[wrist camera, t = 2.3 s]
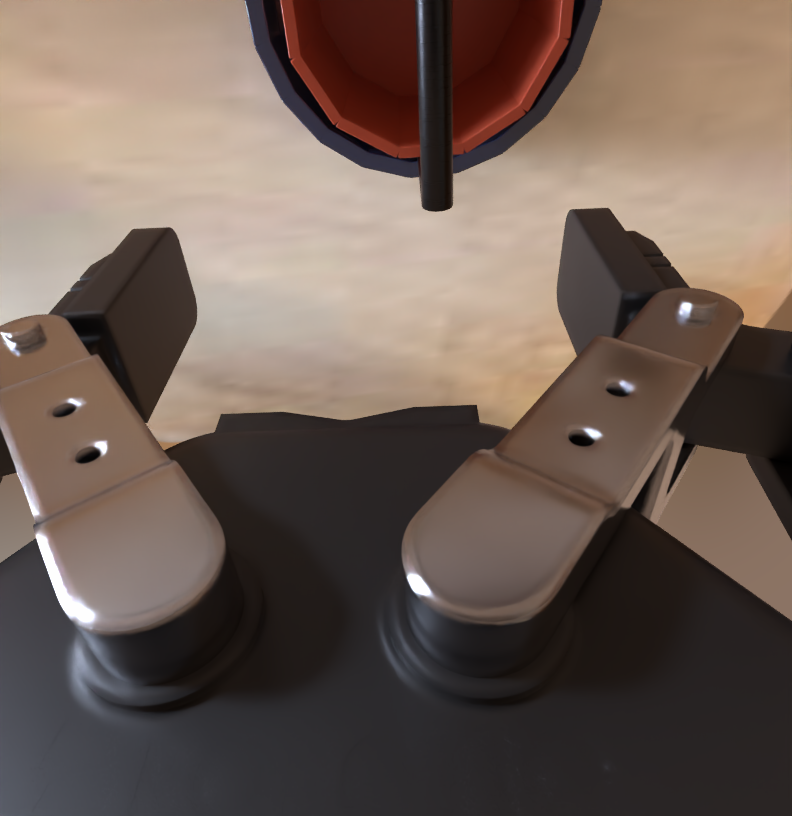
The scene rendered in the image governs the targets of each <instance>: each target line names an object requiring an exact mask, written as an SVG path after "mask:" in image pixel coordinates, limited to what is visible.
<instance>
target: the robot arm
mask: <svg viewBox="0 0 792 816" xmlns="http://www.w3.org/2000/svg"><path fill="white" fill-rule="evenodd" d="M557 303H558V309H559V312H560V315H561V317H562V320H563V322H564V325H565V327H566V330H567V332H568V334H569V337H570V339H571V342H572V344H573V347H574V349H575V352H576V354H577V357H576V358H575V360H574V361H573V362H572V363H571V364H570V365H569V366H568V367H567V368H566V369H565V371H564V372H563V373H562V374H561V375H560V376H559V377H558V378H557V379H556V381H555V382H554V383H553V384H552V385H551V386H550V387H549V388H548V389H547V391H546V392H545V393H544V394H543V395H542V396H541V397H540V398H539V399H538V401H537V402H536V403H535V404H534V405H533V406H532V407H531V408H530V409H529V410H528V412H527V413H526V414H525V415H524V416H523V417H522V418H521V419H520V420H519V422H518V423H517V424H516V425H515V426H514V427H513V428H512V429H511V430H510V429H507V428H504V427H499V426H495V425H491V424H485V423H480V422H479V416H478V410H477V405H461V406H433V407H412V408H407V409H402V410H397V411H393V412H388V413H383V414H378V415H373V416H368V417H363V418H359V419H354V420H337V419H330V418H323V417H316V416H309V415H301V414H294V413H287V412H268V413H241V414H221V416H220V419H219V422H218V425H217V427H216V430H215V432H214V433H209V434H205V435H202V436H198V437H195V438H192V439H189V440H187V441H184V442H181V443H179V444H177V445H175V446H173V447H170V448H168V449H166V450H163V449H162V447H161V446H160V444H159V443H158V441H157V440H156V439H155V437H154V436H153V434H152V433H151V431H150V430H149V428H148V427H147V425H146V424H145V423H148V421H149V419H150V416H151V414H152V412H153V410H154V408H155V406H156V404H157V402H158V400H159V398H160V396H161V394H162V392H163V390H164V388H165V386H166V384H167V382H168V380H169V378H170V376H171V374H172V372H173V370H174V368H175V366H176V364H177V362H178V360H179V358H180V356H181V354H182V352H183V350H184V348H185V346H186V343H187V341H188V339H189V337H190V335H191V333H192V331H193V329H194V327H195V325H196V320H197V304H196V298H195V295H194V291H193V288H192V284H191V281H190V277H189V274H188V270H187V267H186V263H185V260H184V256H183V253H182V249H181V246H180V243H179V239H178V237H177V235H176V233H175V231H174V230H173V229H172V228H169V227H167V228H146V229H133V230H132V231H131V232H130V233H129V234H128V235H127V236H126V238H125V239H124V240H123V241H122V242H121V243H120V245H119V246H118V247H117V248H116V249H115V251H114V252H113V253H112V254H109V255H108V256H106V257H104V258H103V259H101V260H99V261H98V262H96V263H94V264H93V265H91V266H90V267H89V268H88V269H87V271H86V272H85V273H84V274H83V275H82V276H81V277H80V281H77V282H76V283H75V284H74V285H73V286H72V288H71V291H70V292H67V293H66V294H65V296H64V297H63V298H62V299H61V300H60V301H59V302H58V304H57V305H56V306H55V307H54V308H53V309H52V310H51V312H50V313H49V314H48V315H47V314H45V315H34V316H28V317H24V318H20V319H17V320H14V321H11V322H8V323H6V324H4V325H1V326H0V483H1V481H2V477H3V476H5V475H9V474H12V473H18V476H19V478H20V481H21V484H22V486H23V489H24V492H25V494H26V497H27V499H28V502H29V505H30V508H31V510H32V512H33V515H34V518H35V521H36V524H34V526H33V527H34V532H35V535H36V539H34V540H33V541H31V542H30V543H28V544H27V545H26V546H24V547H23V548H21V549H20V550H18V551H17V552H15V553H14V554H13V555H11V556H10V557H8V558H7V559H5V560H4V561H3V562H1V563H0V816H792V621H791V620H790V619H788V618H787V617H785V616H784V615H783V614H781V613H780V612H778V611H777V610H775V609H774V608H773V607H771V606H770V605H769V604H767V603H766V602H764V601H763V600H761V599H760V598H758V597H757V596H756V595H754V594H753V593H752V592H750V591H749V590H747V589H746V588H745V587H743V586H742V585H740V584H739V583H737V582H736V581H735V580H733V579H732V578H730V577H729V576H728V575H726V574H725V573H723V572H722V571H721V570H719V569H718V568H716V567H715V566H714V565H712V564H711V563H709V562H708V561H707V560H705V559H704V558H702V557H701V556H700V555H698V554H697V553H695V552H694V551H693V550H691V549H689V548H688V547H687V546H685V545H684V544H683V543H681V542H680V541H678V540H677V539H676V538H674V537H673V536H671V535H670V534H669V533H667V532H666V531H664V530H663V529H662V528H660V527H659V526H657V522H658V520H659V518H660V516H661V514H662V512H663V510H664V508H665V507H666V505H667V503H668V501H669V499H670V497H671V495H672V494H673V492H674V490H675V488H676V486H677V485H678V483H679V481H680V479H681V477H682V475H683V474H684V472H685V470H686V468H687V466H688V464H689V463H690V461H691V459H692V457H693V455H694V454H695V451H696V449H697V446H698V445H700V446H705V447H711V448H716V449H722V450H727V451H732V452H738V453H743V454H746V458H747V460H748V462H749V464H750V466H751V468H752V470H753V471H754V473H755V475H756V477H757V478H758V480H759V482H760V484H761V486H762V488H763V489H764V491H765V493H766V495H767V497H768V499H769V500H770V502H771V504H772V506H773V508H774V509H775V511H776V513H777V515H778V517H779V518H780V520H781V522H782V524H783V526H784V527H785V529H786V531H787V533H788V535H789V536H790V538H791V540H792V332H789V331H781V330H774V329H766V328H758V327H752V326H747V325H743V324H742V321H743V318H744V313H743V311H742V309H741V308H740V306H739V305H738V304H736V303H735V302H734V301H732V300H731V299H729V298H727V297H725V296H723V295H720V294H718V293H715V292H711V291H707V290H702V289H695V288H690V287H689V286H688V285H687V283H686V282H685V281H684V280H683V278H682V277H681V276H680V275H679V273H678V272H677V271H676V269H675V268H674V267H671V263H670V262H669V261H668V259H667V258H666V257H665V256H663V253H662V252H661V250H660V249H659V248H658V247H657V245H656V244H655V243H654V242H653V241H652V240H650V239H648V238H646V237H644V236H643V235H641V234H639V233H637V232H635V231H625V230H624V228H623V227H622V225H621V224H620V223H619V221H618V220H617V219H616V217H615V216H614V214H613V213H612V212H611V210H610V209H609V208H594V209H572V210H570V211H569V212H568V215H567V218H566V222H565V229H564V236H563V244H562V251H561V259H560V267H559V274H558V282H557Z"/></svg>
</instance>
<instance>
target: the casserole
mask: <svg viewBox="0 0 792 816" xmlns="http://www.w3.org/2000/svg"><path fill="white" fill-rule="evenodd" d="M245 4H246V9H247V14H248V18H249V23H250V28H251V32H252V37H253V42H254V45H255V46H256V47H255V49H256V51H257V53H258V55H259V57H260V59H261V61H262V63H263V65H264V66H265V68H266V70H267V72H268V74H269V76H270V78H271V80H272V82H273V84H274V86H275V88H276V90H277V92H278V94H279V96H280V98H281V100H283V103H284V104H285V105H286V106H287V107H288V108H289V109H290V110H291V111H292V112H293V113H294V115H295V116H296V117H297V118H298V119H299V120H300V121H301V122H302V123H303V124H304V125H305V127H306V128H307V129H308V130H309V131H310V132H311V133H312V134H313V135H314V136H315V137H316V138H317V140H319V141H320V142H321V143H322V144H324V145H326V146H327V147H329V148H331V149H332V150H334V151H336V152H338V153H339V154H341V155H343V156H344V157H346V158H348V159H349V160H351V161H353V162H354V163H356V164H358V165H360V166H361V167H364V168H368V169H373V170H377V171H382V172H386V173H390V174H395V175H399V176H404V177H408V178H409V177H410V178H414V177H419V172H418V162H417V157H414V158H399V157H398V156H397V157H393V156H391V155H389V154H387V153H385V152H384V151H382V150H380V149H378V148H376V147H374V146H372V145H370V144H368V143H366V142H364V141H362V140H360V139H358V138H356V137H354V136H352V135H350V134H348V133H347V132H345V131H343V130H341V129H339V128H337V127H336V125H337V123H336V124H335V125H334V124H333V123H332V122H331V120H330V119H329V117H328V116H327V114H326V113H325V112H324V110H323V109H322V107H321V106H320V104H319V103H318V101H317V100H316V98H315V97H314V95H313V94H312V92H311V91H310V90H309V88H308V87H307V85H306V84H305V82H304V81H303V79H302V78H301V76H300V75H299V73H298V72H297V70H296V69H295V68H294V66H293V65H292V63H291V60H292V59H293V58H289V54H288V48H287V41H286V34H285V28H284V21H283V15H282V8H281V2H280V0H245ZM601 5H602V0H574V7H573V17H572V27H571V36H570V38H567V40H568V41H569V42H568V44H567V46H566V48H565V49H564V51H563V53H562V55H561V56H560V58H559V60H558V61H557V63H556V65H555V67H554V68H553V70H552V72H551V73H550V75H549V77H548V78H547V80H546V82H545V84H544V85H543V87H542V89H541V90H540V92H539V94H538V96H537V97H536V99H535V101H534V102H533V104H532V106H531V108H530V109H529V111H528V112H527V111H525V110H524V111H525V115H524V116H522V117H521V118H519V119H518V120H516V121H515V122H513V123H512V124H510V125H509V126H507V127H506V128H504V129H503V130H501V131H500V132H498V133H497V134H495V135H493V136H492V137H490V138H489V139H487V140H486V141H484V142H483V143H481V144H480V145H478V146H477V147H475V148H474V149H472V150H471V151H469V152H468V153H466V152H465V150H464V154H459V155H453V174H454V173H457V172H458V173H459V172H461V171H464V170H466V169H468V168H470V167H473V166H475V165H477V164H480V163H482V162H484V161H487V160H489V159H491V158H493V157H496V156H498V155H500V154H503V152H505V151H506V150H508V149H509V148H510V147H511V146H512V145H514V144H515V143H516V142H517V141H518V140H519V139H521V138H522V137H523V136H524V135H525V134H527V133H528V132H529V131H530V130H531V129H533V128H534V127H535V126H536V125H537V124H538V123H540V122H541V121H542V120H543V119H544V117H546V116H547V115H548V113H549V112H550V110H551V109H552V107H553V106H554V104H555V103H556V101H557V100H558V99H559V97H560V96H561V94H562V93H563V91H564V90H565V88H566V87H567V85H568V84H569V83H570V81H571V80H572V78H573V77H574V75H575V74H576V72H577V71H578V68H579V67H580V65H581V62H582V59H583V56H584V54H585V51H586V48H587V45H588V43H589V40H590V37H591V34H592V32H593V29H594V26H595V23H596V21H597V18H598V15H599V12H600V10H601Z"/></svg>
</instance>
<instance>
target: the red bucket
mask: <svg viewBox="0 0 792 816" xmlns="http://www.w3.org/2000/svg"><path fill="white" fill-rule="evenodd" d="M280 2H281V8H282V15H283V21H284V28H285V34H286V41H287V48H288V54H289V58H293V59H292V60H291V63H292V65H293V66H294V68H295V69H296V70H297V72H298V73H299V75H300V76H301V78H302V79H303V81H304V82H305V84H306V85H307V87H308V88H309V90H310V91H311V92H312V94H313V95H314V97H315V98H316V100H317V101H318V103H319V104H320V106H321V107H322V109H323V110H324V112H325V113H326V114H327V116H328V117H329V119H330V120H331V122H332V123H333V124H334V125H335V124H336V123H337V125H336V127H337V128H339V129H341V130H343V131H345V132H347V133H348V134H350V135H352V136H354V137H356V138H358V139H360V140H362V141H364V142H366V143H368V144H370V145H372V146H374V147H376V148H378V149H380V150H382V151H384V152H385V153H387V154H389V155H391V156H393V157H397V156H398V157H399V158H414V157H417V162H418V172H419V182H420V191H421V201H422V207H423V209H425V210H428V211H435V212H437V211H445V210H448V209H450V208H451V207H452V206H453V155H459V154H464V150H465V152H466V153H468V152H469V151H471V150H472V149H474V148H475V147H477V146H478V145H480V144H481V143H483V142H484V141H486V140H487V139H489V138H490V137H492V136H493V135H495V134H497V133H498V132H500V131H501V130H503V129H504V128H506V127H507V126H509V125H510V124H512V123H513V122H515V121H516V120H518V119H519V118H521V117H522V116H524V115H525V111H527V112H528V111H529V109H530V108H531V106H532V104H533V102H534V101H535V99H536V97H537V96H538V94H539V92H540V90H541V89H542V87H543V85H544V84H545V82H546V80H547V78H548V77H549V75H550V73H551V72H552V70H553V68H554V67H555V65H556V63H557V61H558V60H559V58H560V56H561V55H562V53H563V51H564V49H565V48H566V46H567V44H568V42H569V41H568V40H567V38H570V36H571V27H572V17H573V7H574V0H280ZM524 110H525V111H524Z"/></svg>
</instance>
